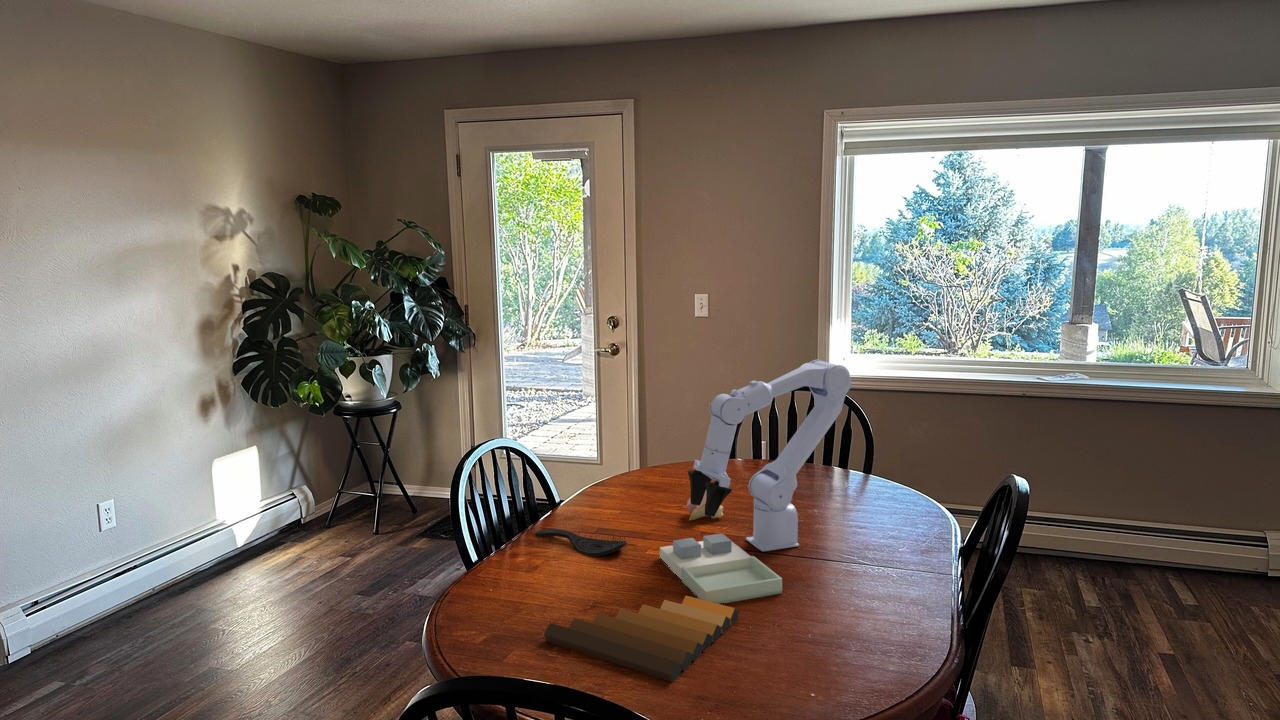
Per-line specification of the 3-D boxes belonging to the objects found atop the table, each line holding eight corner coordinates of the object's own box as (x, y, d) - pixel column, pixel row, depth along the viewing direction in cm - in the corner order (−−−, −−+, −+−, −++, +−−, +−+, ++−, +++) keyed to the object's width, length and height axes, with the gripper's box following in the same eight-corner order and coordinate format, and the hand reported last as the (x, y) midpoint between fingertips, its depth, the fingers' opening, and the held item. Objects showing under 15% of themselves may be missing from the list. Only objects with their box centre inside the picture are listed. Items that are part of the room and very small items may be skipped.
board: (727, 548, 178) (727, 537, 178) (752, 568, 167) (752, 557, 167) (659, 558, 173) (659, 547, 173) (681, 580, 162) (681, 568, 161)
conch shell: (729, 515, 201) (733, 498, 193) (701, 541, 197) (705, 524, 189) (702, 491, 205) (706, 473, 197) (675, 515, 200) (677, 498, 193)
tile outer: (692, 548, 172) (692, 537, 171) (701, 556, 167) (701, 545, 167) (673, 551, 170) (673, 540, 170) (681, 559, 166) (681, 548, 166)
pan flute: (544, 645, 138) (670, 687, 125) (543, 626, 137) (670, 666, 124) (623, 590, 159) (738, 621, 145) (623, 574, 158) (739, 604, 145)
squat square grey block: (722, 544, 174) (722, 533, 173) (731, 551, 170) (731, 540, 169) (703, 547, 172) (703, 536, 172) (712, 554, 168) (712, 543, 168)
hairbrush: (547, 518, 191) (634, 533, 178) (548, 532, 192) (635, 549, 178) (524, 529, 184) (612, 545, 171) (525, 544, 185) (613, 562, 171)
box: (753, 569, 167) (753, 555, 166) (782, 593, 156) (782, 578, 155) (681, 581, 161) (681, 567, 161) (705, 606, 150) (705, 591, 150)
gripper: (687, 438, 178) (673, 497, 179) (715, 455, 165) (699, 518, 165) (715, 443, 181) (701, 501, 181) (744, 460, 167) (729, 522, 168)
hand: (702, 510), depth 174 cm, fingers open, 7 cm apart
